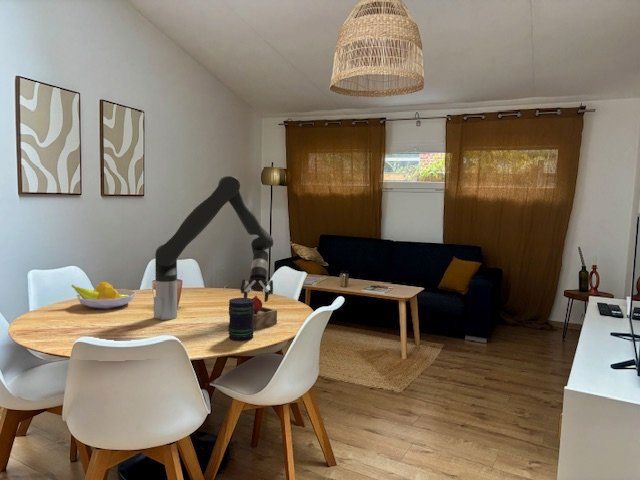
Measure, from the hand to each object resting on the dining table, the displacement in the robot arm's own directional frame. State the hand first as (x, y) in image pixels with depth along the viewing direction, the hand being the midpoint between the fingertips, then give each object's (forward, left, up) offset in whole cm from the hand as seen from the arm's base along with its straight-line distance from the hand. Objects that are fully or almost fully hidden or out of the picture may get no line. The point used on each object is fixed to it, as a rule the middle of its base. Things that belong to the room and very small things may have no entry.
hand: (255, 300), depth 200 cm
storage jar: (-17, -9, -11) cm, 22 cm away
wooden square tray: (+1, +1, -11) cm, 11 cm away
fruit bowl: (-26, +79, -11) cm, 84 cm away
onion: (+1, +1, -6) cm, 6 cm away
